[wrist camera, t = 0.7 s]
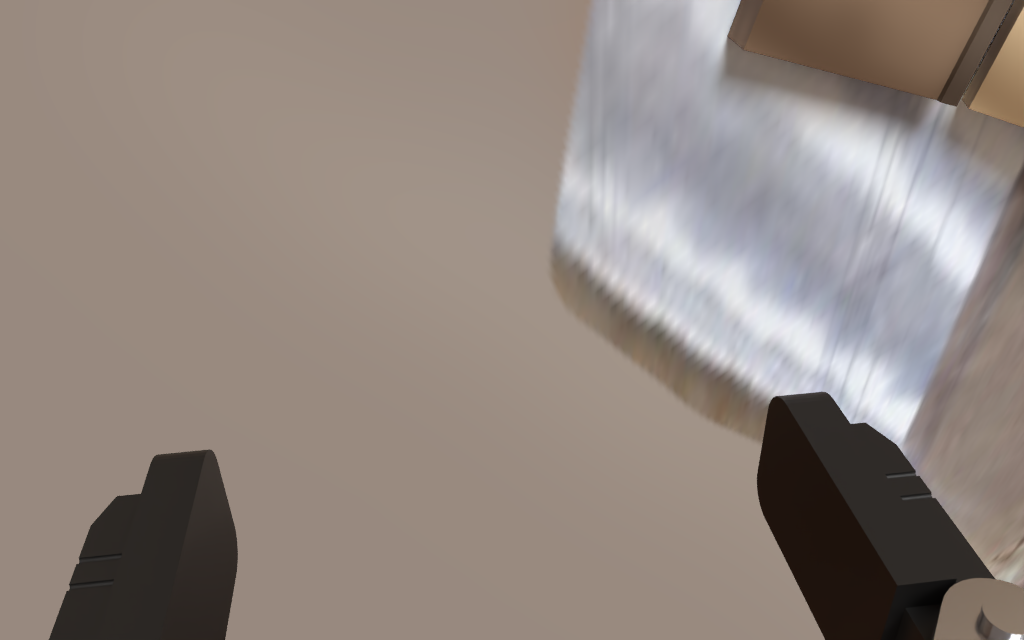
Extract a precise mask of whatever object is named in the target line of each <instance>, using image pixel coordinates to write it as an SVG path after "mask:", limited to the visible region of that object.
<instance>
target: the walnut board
mask: <svg viewBox="0 0 1024 640" xmlns="http://www.w3.org/2000/svg"><path fill="white" fill-rule="evenodd" d="M1012 2H1013V0H741V3H740V5H739V8H738V10H737V13H736V16H735V18H734V21H733V23H732V26H731V29H730V31H729V34H728V37H729V38H730V39H731V40H733V41H734V42H735V43H736V44H737V45H739V46H740V47H741V48H742V49H743V50H746V51H750V52H754V53H758V54H762V55H766V56H770V57H773V58H777V59H781V60H785V61H789V62H793V63H797V64H800V65H804V66H808V67H812V68H816V69H820V70H823V71H827V72H831V73H835V74H839V75H843V76H847V77H850V78H854V79H858V80H862V81H866V82H870V83H873V84H877V85H881V86H885V87H889V88H893V89H897V90H900V91H904V92H908V93H912V94H916V95H920V96H924V97H927V98H931V99H935V100H938V101H939V102H941V103H945V104H949V105H953V106H957V105H958V103H959V101H960V99H961V97H962V95H963V93H964V91H965V90H966V88H967V86H968V84H969V82H970V80H971V78H972V76H973V75H974V73H975V71H976V69H977V67H978V65H979V63H980V61H981V60H982V58H983V56H984V54H985V52H986V50H987V48H988V46H989V45H990V43H991V41H992V39H993V37H994V35H995V33H996V31H997V30H998V28H999V26H1000V24H1001V22H1002V20H1003V18H1004V17H1005V15H1006V13H1007V11H1008V9H1009V7H1010V5H1011V3H1012Z"/></svg>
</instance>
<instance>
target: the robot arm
mask: <svg viewBox="0 0 1024 640" xmlns="http://www.w3.org/2000/svg"><path fill="white" fill-rule="evenodd" d="M757 489H758V496H759V502H760V506H761V509H762V512H763V515H764V517H765V519H766V521H767V523H768V525H769V527H770V529H771V531H772V533H773V535H774V537H775V539H776V541H777V543H778V545H779V547H780V549H781V551H782V553H783V555H784V557H785V559H786V561H787V563H788V565H789V567H790V569H791V571H792V573H793V575H794V578H795V580H796V582H797V584H798V585H799V587H800V590H801V592H802V593H803V596H804V597H805V600H806V602H807V604H808V605H809V608H810V610H811V612H812V613H813V616H814V618H815V620H816V622H817V624H818V626H819V628H820V630H821V632H822V634H823V636H824V638H825V640H1024V588H1022V587H1019V586H1017V585H1014V584H1012V583H1008V582H1005V581H1002V580H996V579H995V578H994V577H993V576H992V574H991V573H990V572H989V570H988V569H987V567H986V566H985V565H984V563H983V562H982V561H981V559H980V558H979V557H978V555H977V554H976V553H975V551H974V550H973V548H972V547H971V546H970V544H969V543H968V542H967V540H966V539H965V538H964V536H963V535H962V533H961V532H960V531H959V529H958V528H957V527H956V525H955V524H954V523H953V521H952V520H951V518H950V517H949V516H948V514H947V513H946V512H945V510H944V509H943V508H942V506H941V505H940V504H939V502H938V501H937V499H936V498H932V496H931V491H930V490H929V489H928V487H927V486H926V484H925V483H924V482H923V480H922V479H921V478H920V476H916V474H915V470H914V468H913V467H912V465H911V464H910V463H909V461H908V460H907V459H906V457H905V456H904V455H903V453H902V452H901V450H900V449H899V448H898V446H897V445H896V444H895V443H893V442H892V441H891V440H889V439H888V438H886V437H885V436H883V435H882V434H881V433H879V432H878V431H876V430H875V429H874V428H872V427H871V426H869V425H868V424H867V423H857V424H850V423H849V421H848V420H847V418H846V417H845V415H844V414H843V413H842V411H841V410H840V408H839V407H838V405H837V404H836V402H835V401H834V400H833V398H832V397H831V396H830V395H829V394H828V393H826V392H816V393H806V394H796V395H785V396H776V397H774V398H773V399H772V400H771V402H770V404H769V408H768V413H767V419H766V425H765V431H764V437H763V443H762V449H761V455H760V461H759V467H758V474H757ZM237 552H238V551H237V538H236V531H235V526H234V522H233V519H232V515H231V511H230V507H229V503H228V499H227V496H226V492H225V488H224V484H223V481H222V477H221V474H220V469H219V466H218V462H217V459H216V456H215V454H214V452H213V451H212V450H202V451H192V452H181V453H171V454H161V455H156V456H155V457H154V458H153V460H152V462H151V464H150V467H149V471H148V474H147V477H146V480H145V484H144V487H143V490H142V493H141V494H135V495H125V496H117V497H116V498H115V499H114V500H113V501H112V502H111V504H110V505H109V506H108V507H107V508H106V509H105V510H104V512H103V513H102V514H101V515H100V516H99V517H98V518H97V519H96V521H95V522H94V523H93V524H92V525H91V527H90V530H89V532H88V535H87V538H86V541H85V543H84V546H83V549H82V551H81V554H80V557H79V564H77V565H76V567H75V570H74V573H73V576H72V578H71V581H70V584H69V585H70V590H69V591H67V592H66V595H65V598H64V600H63V603H62V606H61V608H60V611H59V614H58V616H57V619H56V622H55V625H54V627H53V630H52V633H51V636H50V638H49V640H225V637H226V631H227V625H228V618H229V613H230V607H231V602H232V596H233V590H234V584H235V578H236V572H237V560H238V553H237Z"/></svg>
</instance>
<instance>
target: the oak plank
mask: <svg viewBox="0 0 1024 640" xmlns="http://www.w3.org/2000/svg"><path fill="white" fill-rule="evenodd" d="M962 100H963V101H964V102H965V104H966V105H967V107H968V108H969V109H971V110H974V111H977V112H980V113H983V114H986V115H989V116H992V117H994V118H997V119H1000V120H1003V121H1006V122H1009V123H1012V124H1015V125H1018V126H1021V127H1024V0H1015V1H1014V3H1013V5H1012V7H1011V9H1010V11H1009V13H1008V14H1007V16H1006V18H1005V20H1004V22H1003V24H1002V26H1001V27H1000V29H999V31H998V33H997V35H996V37H995V39H994V41H993V42H992V44H991V46H990V48H989V50H988V52H987V54H986V56H985V57H984V59H983V61H982V63H981V65H980V67H979V69H978V70H977V72H976V74H975V76H974V78H973V80H972V82H971V84H970V85H969V87H968V89H967V91H966V93H965V95H964V97H963V99H962Z"/></svg>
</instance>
